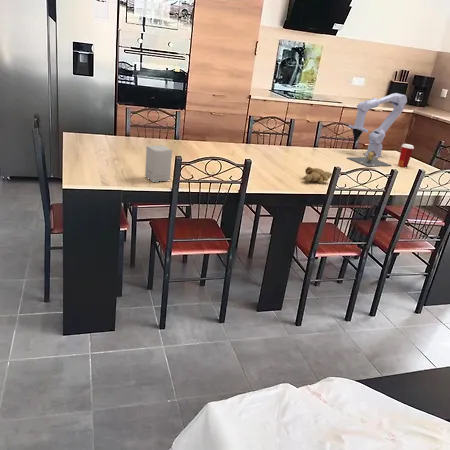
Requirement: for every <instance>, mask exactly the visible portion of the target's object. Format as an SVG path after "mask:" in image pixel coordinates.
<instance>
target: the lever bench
mask: <svg viewBox="0 0 450 450" xmlns="http://www.w3.org/2000/svg"><path fill="white" fill-rule="evenodd" d="M367 157H368V155H365V156H359V157H358V156H357V157H356V156H355V157H346V159H347V160H350V161H352V162H354V163H357V164H359V165H362V166H364V167H365V168H375V167H377V168H378V167H380V166H381V167H392V164H390V163H386V162H385V161H381V160H379V157H377V156H373V159H372V160H368V159H367ZM381 167H380V168H381Z"/></svg>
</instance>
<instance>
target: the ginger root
mask: <svg viewBox="0 0 450 450" xmlns="http://www.w3.org/2000/svg"><path fill="white" fill-rule="evenodd" d="M305 174H306V175H304V176H303V177H302V178H303V180H304V181H306V182H308V183H309V182H317V183H319V184H323V183H324V181H325V182H328V181H329V179H331V177H332V176H333V173H332V172H329V171H325V170H323V169H321V168H318V167H317V168H316V167H314V168H313V167H310V166H308V167H306V168H305Z"/></svg>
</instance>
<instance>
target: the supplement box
mask: <svg viewBox="0 0 450 450" xmlns="http://www.w3.org/2000/svg"><path fill="white" fill-rule="evenodd" d="M145 151H146V154H145V156H146V157H145V174H144V175H145V176H146V177H147V178H149V179H150V180H151V181H152V182H151V181H150V180H149V179H148V180H149V181H150V182H151V183H153V182H155V183H160V182H159V181H168V180H170V181H171V171H172V157H173V155H172V154H173V150H172V148H171V149H170V148H169V147H167V146H165V145H147V146H146V149H145ZM145 176H144V177H145ZM146 177H145V178H146ZM147 178H146V179H147ZM168 182H169V181H168Z"/></svg>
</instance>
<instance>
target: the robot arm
mask: <svg viewBox="0 0 450 450" xmlns="http://www.w3.org/2000/svg"><path fill="white" fill-rule="evenodd" d="M388 102H391V103H392V106H393V109H392V111H391V112H390V113H389V114H388V116H386V118H385V119H384V120H383V122H382V123H381V124H380V125H379V126H378V128H376V129H374V130H373V131H372V132H370V133H369V135H368V140H369V141H368V145H367V150H366V152H364V153H363V155H365V156H366V155H368V153H369V152H372V151H375V153H376V156H377V157H378V158H381V157H382V155H381V154H382V151H383V144H382V143H383V141H384V138H385V137H386V132H387V131H388V130H389V129H390V127H391V126H392V125H393V124H394V122H395V121H396V120H397V118H398V117H400V115H401V114H402V112H403V111H404V110H405V109H404V108H405V105H406V104H407V103H408V98H407V96H406V95H405V94H402V93H398V92H394V93H391V94H389V95H386V96H383V97H381V98H376V97H372V98H371V99H369V100H365V101H360V102H359V103H358V105H356V109H357V114H356V117H355V122H354V125H352V124H348V127H347V128H348V129H352V135H353V141H354V142H357V141H358V139H359V138H360V137H361V135H362V134H363V133H365V134H367V133H368V132H369V129H367V128H365V127H364V125H365V120H366V116H367V112H368V111H369V110H372V109H374V108H378V107H379V106H380V105H381V104H385V103H388Z"/></svg>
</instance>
